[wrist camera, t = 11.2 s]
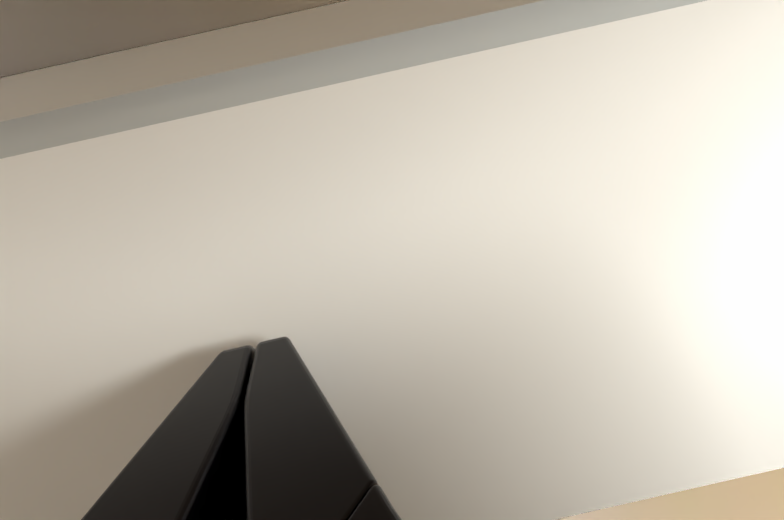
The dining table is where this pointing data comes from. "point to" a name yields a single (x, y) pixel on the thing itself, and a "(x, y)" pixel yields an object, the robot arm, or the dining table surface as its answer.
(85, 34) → the dining table surface
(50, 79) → the duct
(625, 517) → the dining table surface
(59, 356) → the duct cover
